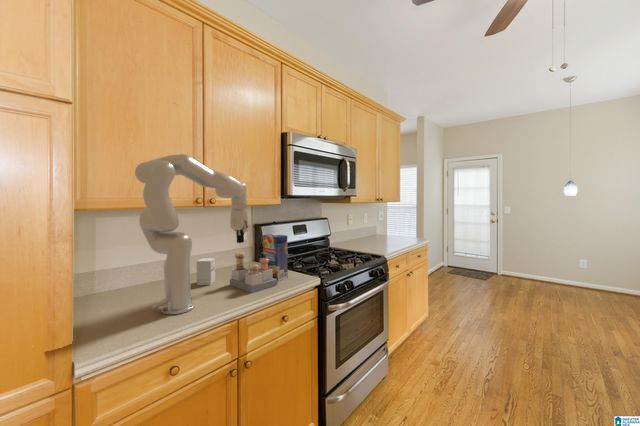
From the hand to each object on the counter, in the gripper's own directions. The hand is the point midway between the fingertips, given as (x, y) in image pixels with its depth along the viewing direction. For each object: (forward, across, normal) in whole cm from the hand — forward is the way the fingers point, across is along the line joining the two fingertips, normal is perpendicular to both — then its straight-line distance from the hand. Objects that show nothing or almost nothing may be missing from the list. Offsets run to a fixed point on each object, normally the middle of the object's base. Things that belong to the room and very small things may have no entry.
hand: (240, 242), depth 149 cm
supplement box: (+22, -15, -12) cm, 29 cm away
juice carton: (+22, +5, +19) cm, 30 cm away
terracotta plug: (+17, +10, +7) cm, 21 cm away
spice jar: (+19, +12, -1) cm, 22 cm away
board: (+22, +6, +3) cm, 23 cm away
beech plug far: (+14, 0, -1) cm, 14 cm away
